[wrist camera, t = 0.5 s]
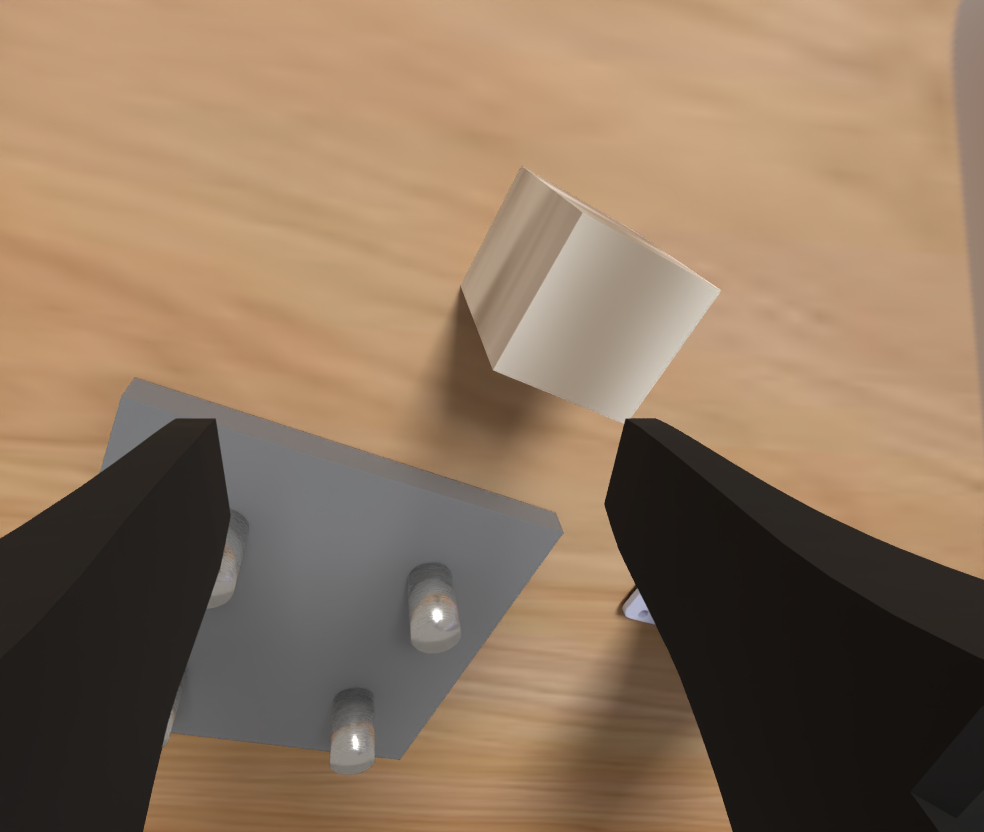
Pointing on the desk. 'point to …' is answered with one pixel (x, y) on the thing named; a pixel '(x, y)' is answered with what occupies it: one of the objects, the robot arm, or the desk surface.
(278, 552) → the peg board
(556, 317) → the cream block
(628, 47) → the desk surface
